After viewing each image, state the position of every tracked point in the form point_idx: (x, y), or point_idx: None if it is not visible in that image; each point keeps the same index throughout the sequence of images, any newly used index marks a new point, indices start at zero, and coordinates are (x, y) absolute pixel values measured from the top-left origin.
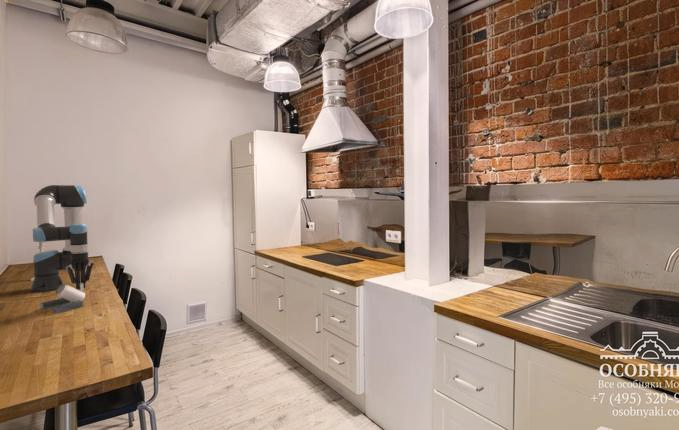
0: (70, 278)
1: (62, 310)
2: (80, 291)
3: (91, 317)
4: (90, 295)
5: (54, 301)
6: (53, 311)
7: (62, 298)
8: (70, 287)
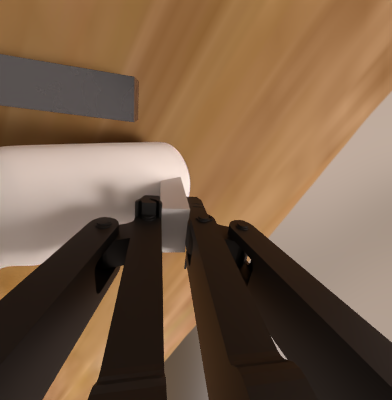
0: (49, 267)
1: None
2: None
3: (88, 348)
4: (280, 77)
5: (26, 108)
6: None
7: (94, 86)
8: None
